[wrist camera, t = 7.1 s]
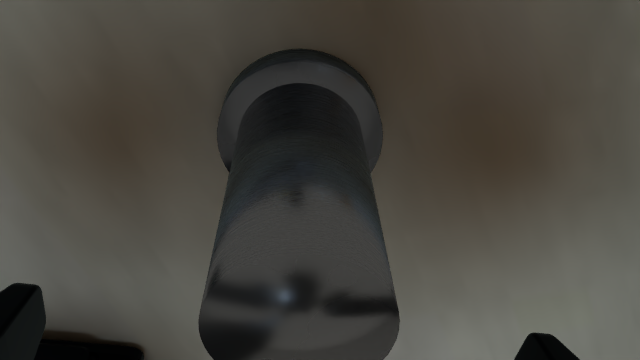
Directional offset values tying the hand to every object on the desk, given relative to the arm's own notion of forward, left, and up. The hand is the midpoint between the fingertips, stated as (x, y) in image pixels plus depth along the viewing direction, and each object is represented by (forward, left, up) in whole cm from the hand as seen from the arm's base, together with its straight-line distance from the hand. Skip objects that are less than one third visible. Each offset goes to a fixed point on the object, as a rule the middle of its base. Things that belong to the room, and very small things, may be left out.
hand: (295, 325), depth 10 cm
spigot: (0, 0, -8) cm, 8 cm away
